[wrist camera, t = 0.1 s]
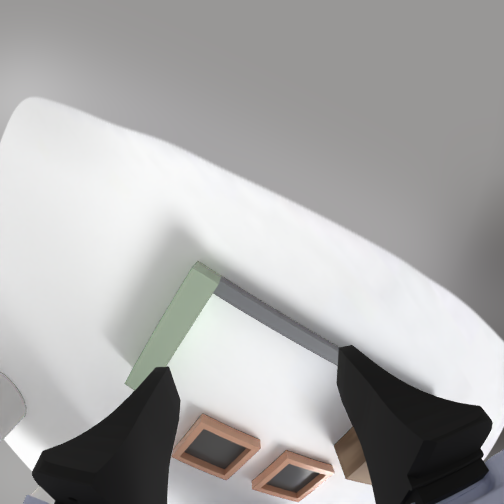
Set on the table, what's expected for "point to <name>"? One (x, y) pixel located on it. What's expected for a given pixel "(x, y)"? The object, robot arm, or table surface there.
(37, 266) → the table surface
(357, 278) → the table surface
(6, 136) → the table surface
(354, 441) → the walnut block
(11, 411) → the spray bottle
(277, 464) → the trap pits
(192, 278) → the hook tool
